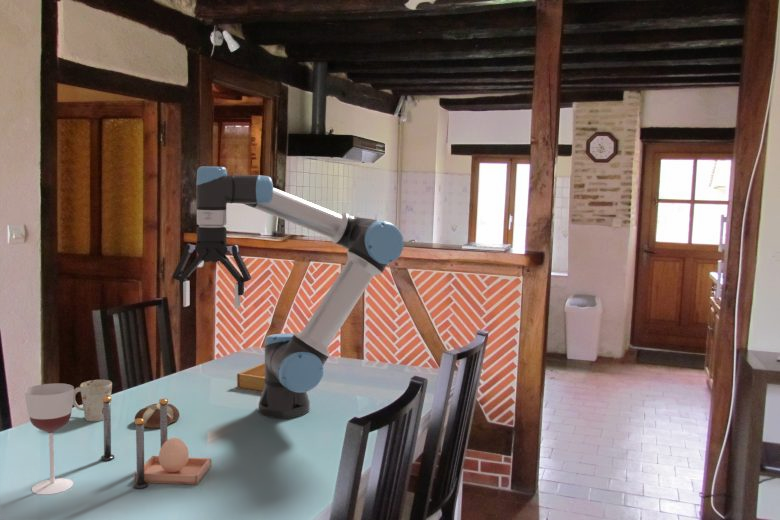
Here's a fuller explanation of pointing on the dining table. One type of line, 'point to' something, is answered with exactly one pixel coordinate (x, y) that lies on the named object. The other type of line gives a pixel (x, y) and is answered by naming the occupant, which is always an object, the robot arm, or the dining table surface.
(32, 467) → the dining table surface
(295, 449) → the dining table surface
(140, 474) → the pole
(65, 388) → the wineglass
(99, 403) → the mug
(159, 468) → the tray
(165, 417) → the pole corner
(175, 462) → the egg
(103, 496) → the dining table surface
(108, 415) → the pole
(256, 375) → the tray
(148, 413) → the bread
